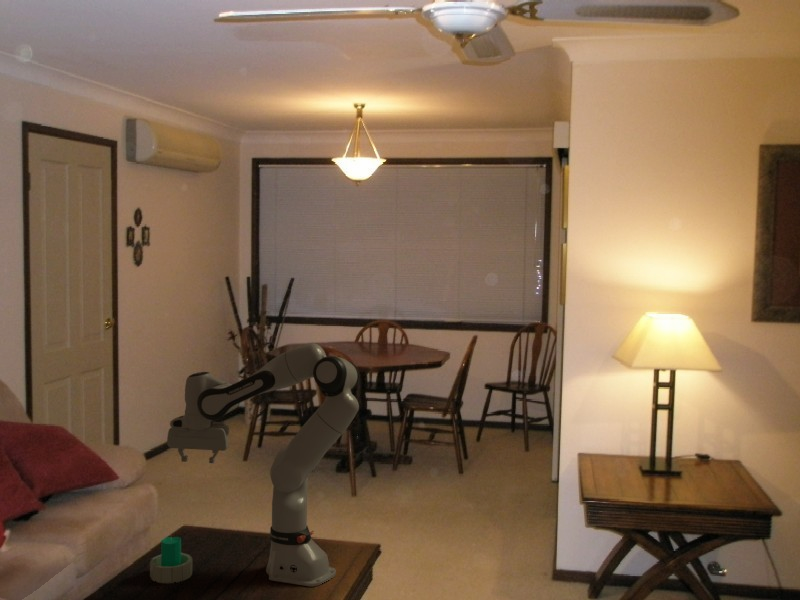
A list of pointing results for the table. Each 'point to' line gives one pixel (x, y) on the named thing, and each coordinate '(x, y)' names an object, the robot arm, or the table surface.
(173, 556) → the candle
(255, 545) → the table surface
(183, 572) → the dish
